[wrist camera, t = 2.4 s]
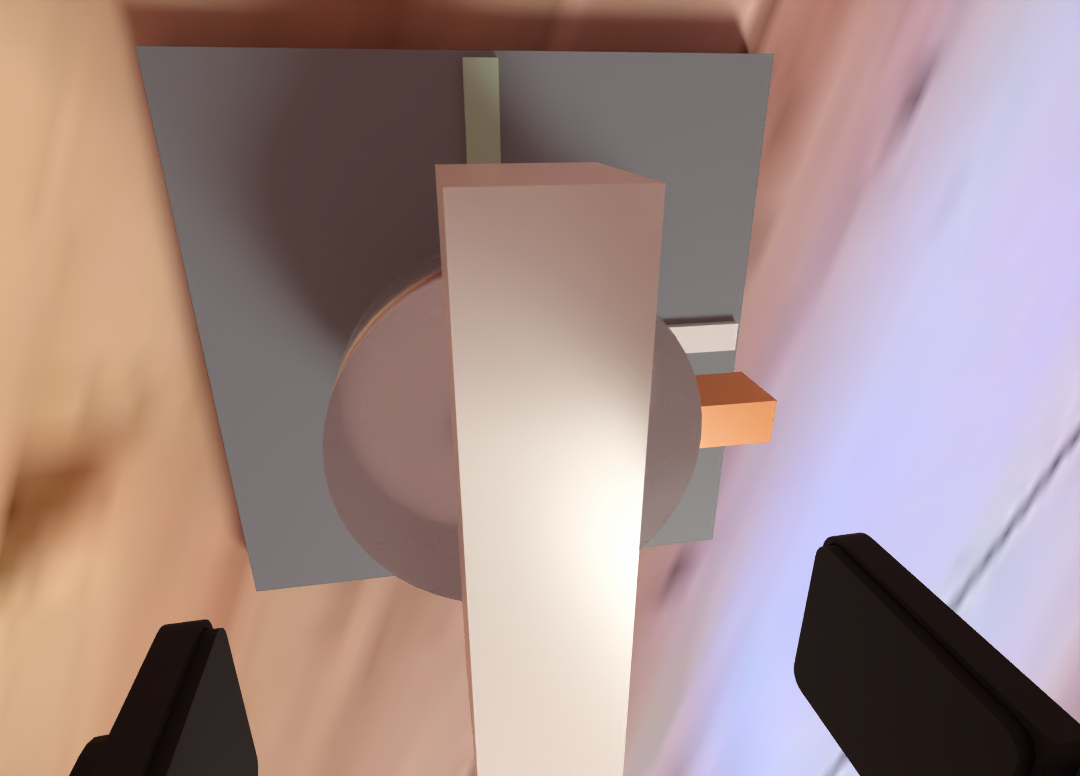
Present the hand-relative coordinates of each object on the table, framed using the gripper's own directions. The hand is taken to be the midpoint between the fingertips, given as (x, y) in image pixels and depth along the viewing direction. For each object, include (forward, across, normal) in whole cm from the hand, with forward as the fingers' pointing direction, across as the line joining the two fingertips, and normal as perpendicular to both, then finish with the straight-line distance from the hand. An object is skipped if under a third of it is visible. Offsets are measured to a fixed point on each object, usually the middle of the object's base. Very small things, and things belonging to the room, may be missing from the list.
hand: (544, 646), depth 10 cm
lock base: (+14, -1, 0) cm, 15 cm away
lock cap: (+9, -2, 0) cm, 9 cm away
